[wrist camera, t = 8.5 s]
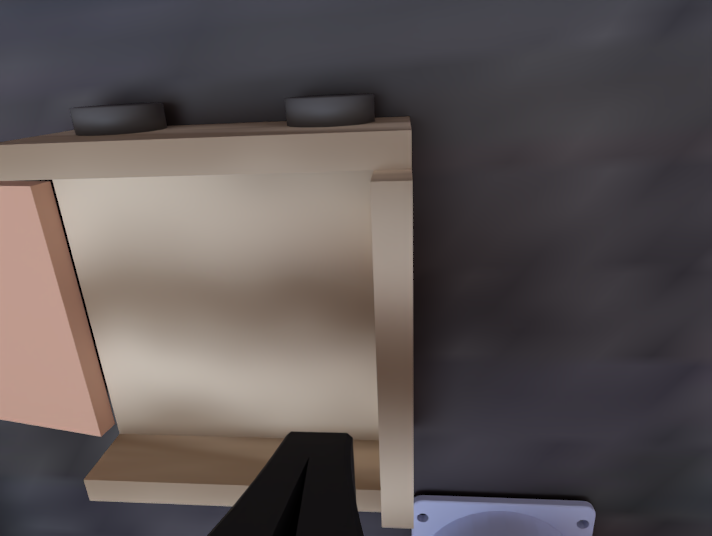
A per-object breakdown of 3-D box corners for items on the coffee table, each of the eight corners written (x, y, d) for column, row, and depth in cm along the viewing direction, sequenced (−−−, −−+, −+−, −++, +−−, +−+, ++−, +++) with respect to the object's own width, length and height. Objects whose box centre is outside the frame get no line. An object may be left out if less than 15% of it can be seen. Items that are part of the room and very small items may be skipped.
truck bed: (411, 443, 22) (413, 569, 16) (151, 436, 23) (70, 552, 17) (409, 91, 17) (412, 99, 11) (72, 106, 18) (-80, 120, 12)
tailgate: (30, 186, 16) (-105, 184, 18) (101, 436, 20) (-16, 416, 21) (50, 181, 17) (-81, 179, 18) (115, 423, 20) (1, 405, 22)
